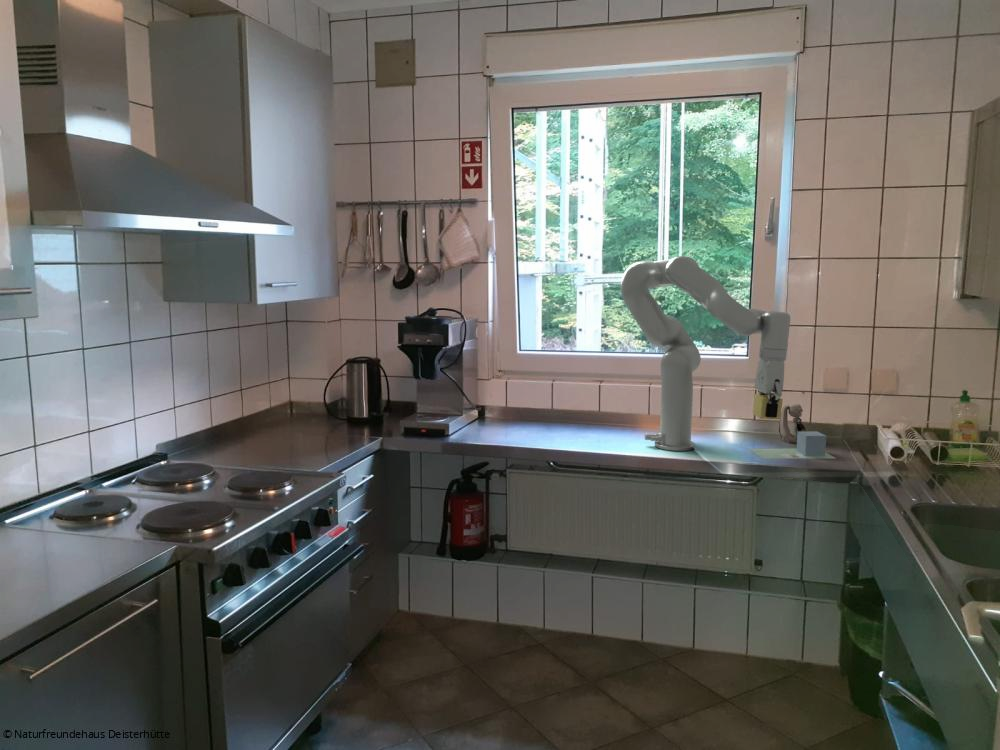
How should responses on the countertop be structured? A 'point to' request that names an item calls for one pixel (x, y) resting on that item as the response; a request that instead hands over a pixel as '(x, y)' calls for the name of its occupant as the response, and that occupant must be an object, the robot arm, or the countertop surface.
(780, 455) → the board
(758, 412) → the brick
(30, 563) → the countertop surface
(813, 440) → the base brick
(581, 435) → the countertop surface
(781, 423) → the toy
